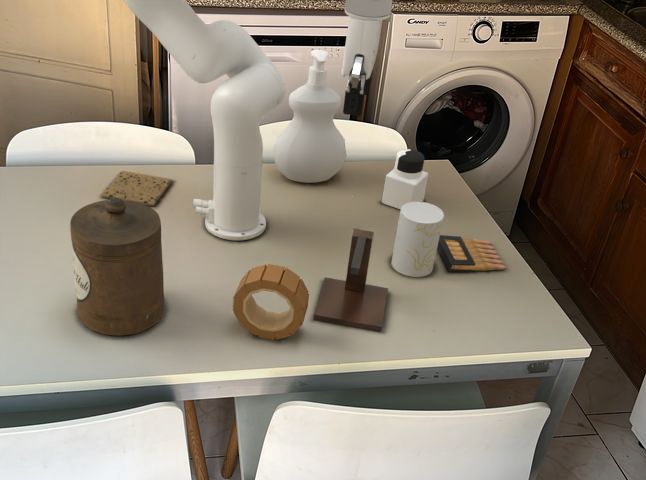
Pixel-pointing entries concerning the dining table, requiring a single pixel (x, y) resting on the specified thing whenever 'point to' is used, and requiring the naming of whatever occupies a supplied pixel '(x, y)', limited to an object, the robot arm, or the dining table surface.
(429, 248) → the cup
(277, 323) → the segmented brown cylinder
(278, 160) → the soap bottle
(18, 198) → the dining table surface
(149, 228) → the wooden container
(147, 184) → the tan flat square slab
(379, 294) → the hook stand
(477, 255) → the ammunition clip
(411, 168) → the medicine bottle
